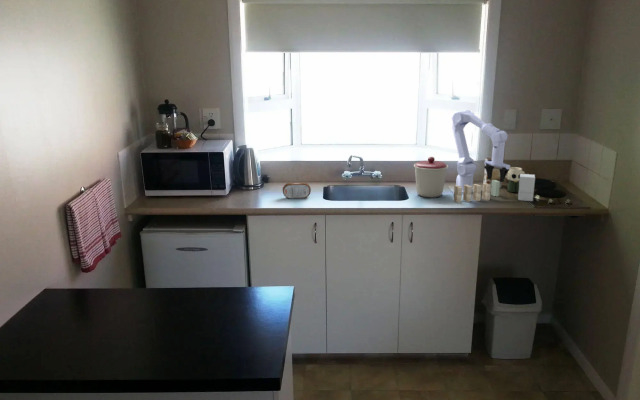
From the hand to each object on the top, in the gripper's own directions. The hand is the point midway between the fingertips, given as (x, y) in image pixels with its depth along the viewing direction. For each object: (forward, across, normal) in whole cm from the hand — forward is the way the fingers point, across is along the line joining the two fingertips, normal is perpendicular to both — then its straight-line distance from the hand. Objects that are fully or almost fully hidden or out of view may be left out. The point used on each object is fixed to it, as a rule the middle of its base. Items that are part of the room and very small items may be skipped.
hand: (495, 180), depth 270 cm
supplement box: (+10, +11, +11) cm, 18 cm away
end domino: (+10, -3, +4) cm, 11 cm away
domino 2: (+10, -5, -16) cm, 19 cm away
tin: (+10, -62, -84) cm, 105 cm away
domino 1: (+10, -7, -21) cm, 24 cm away
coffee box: (+10, -16, +20) cm, 28 cm away
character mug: (+10, -2, +19) cm, 21 cm away
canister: (+10, -24, -23) cm, 35 cm away
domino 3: (+10, -3, -11) cm, 15 cm away
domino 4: (+10, -1, -6) cm, 11 cm away
